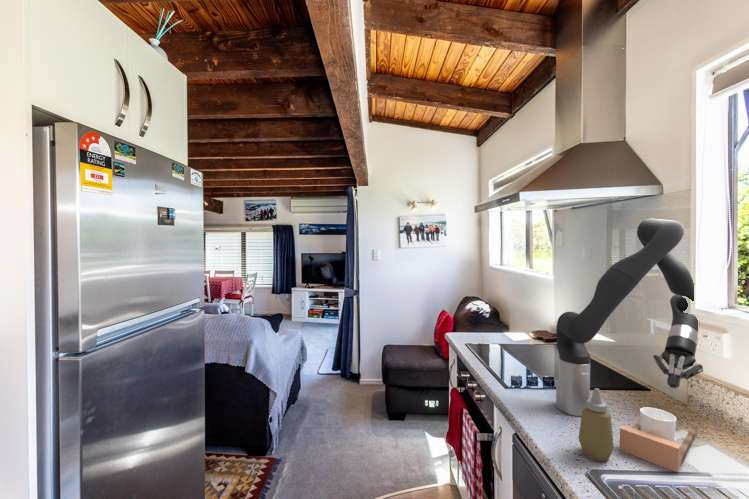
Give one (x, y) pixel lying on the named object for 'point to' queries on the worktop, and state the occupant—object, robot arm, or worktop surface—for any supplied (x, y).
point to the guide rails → (686, 442)
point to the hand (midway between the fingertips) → (672, 386)
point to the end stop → (650, 448)
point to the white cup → (658, 423)
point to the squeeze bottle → (596, 429)
